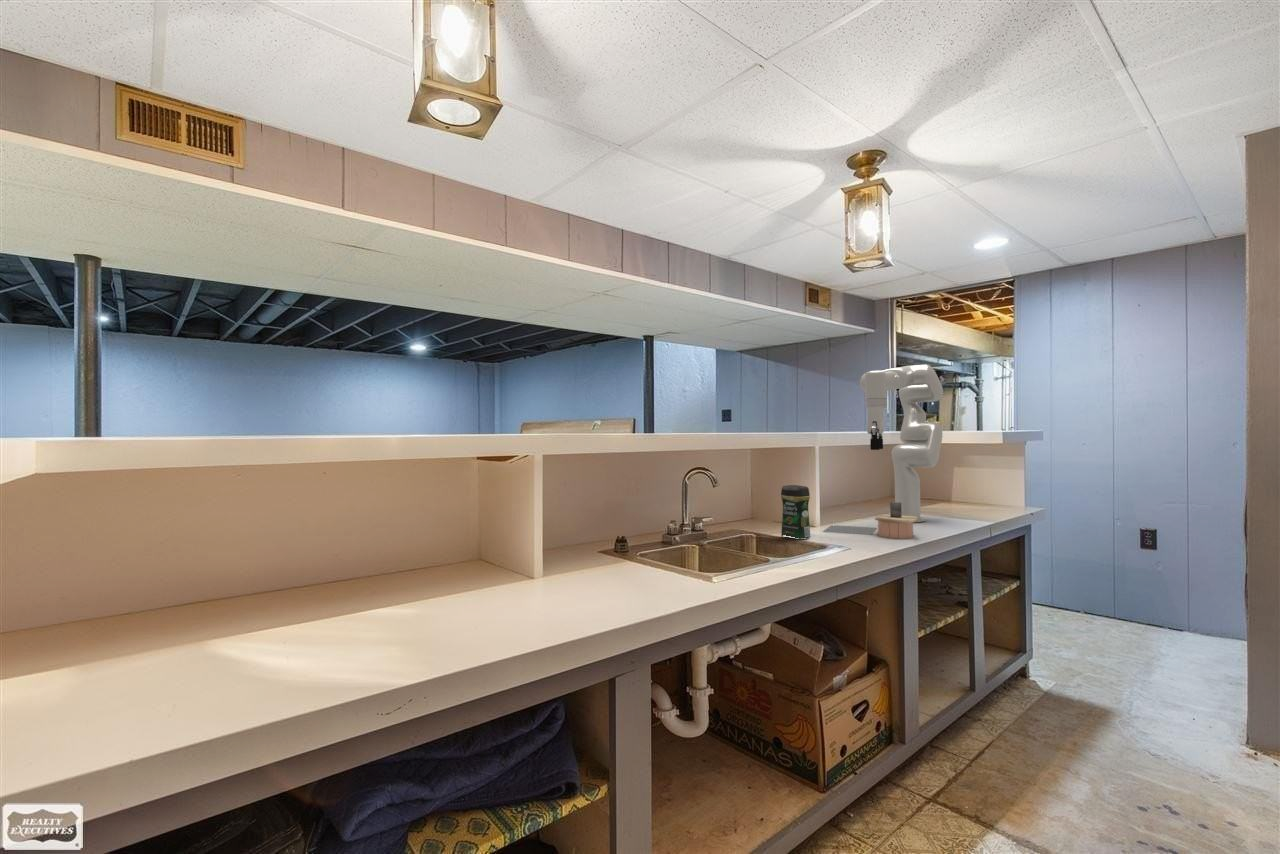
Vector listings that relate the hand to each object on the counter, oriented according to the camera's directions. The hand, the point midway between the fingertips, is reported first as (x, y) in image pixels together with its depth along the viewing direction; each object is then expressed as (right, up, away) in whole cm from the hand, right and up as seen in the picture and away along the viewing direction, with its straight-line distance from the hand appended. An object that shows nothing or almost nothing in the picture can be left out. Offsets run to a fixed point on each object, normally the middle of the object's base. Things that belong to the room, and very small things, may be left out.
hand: (876, 449), depth 220 cm
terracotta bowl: (+1, -30, -14) cm, 33 cm away
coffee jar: (-34, -31, -13) cm, 48 cm away
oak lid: (+1, -24, -14) cm, 28 cm away
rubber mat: (-10, -30, -1) cm, 32 cm away
